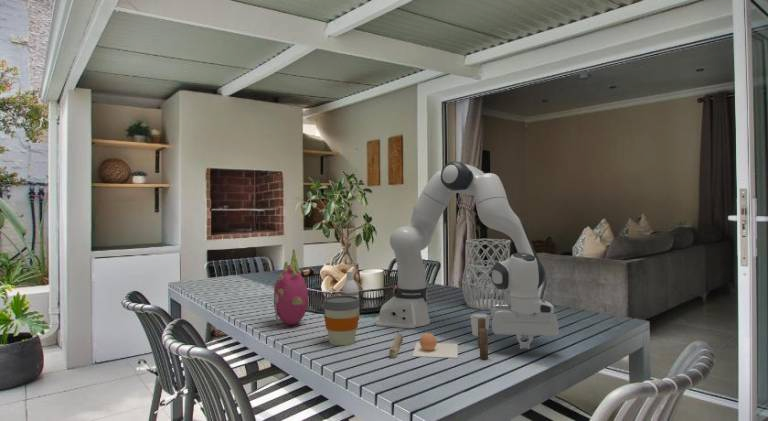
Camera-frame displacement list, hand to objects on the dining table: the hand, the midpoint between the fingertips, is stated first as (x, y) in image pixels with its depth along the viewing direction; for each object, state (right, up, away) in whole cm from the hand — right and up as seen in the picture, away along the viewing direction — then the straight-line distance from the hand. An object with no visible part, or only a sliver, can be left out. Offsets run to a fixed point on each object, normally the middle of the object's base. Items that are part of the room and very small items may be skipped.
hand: (524, 348), depth 150 cm
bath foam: (-58, -2, +47) cm, 75 cm away
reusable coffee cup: (-59, -2, +15) cm, 61 cm away
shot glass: (-10, -2, +22) cm, 24 cm away
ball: (-30, +1, +4) cm, 31 cm away
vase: (+4, 0, +68) cm, 68 cm away
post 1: (-12, -2, +8) cm, 14 cm away
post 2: (-14, -2, -4) cm, 15 cm away
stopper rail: (-40, -2, +6) cm, 41 cm away
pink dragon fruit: (-82, -2, +39) cm, 91 cm away
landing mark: (-28, -2, +4) cm, 28 cm away
